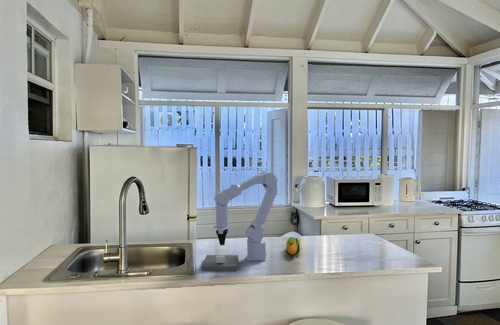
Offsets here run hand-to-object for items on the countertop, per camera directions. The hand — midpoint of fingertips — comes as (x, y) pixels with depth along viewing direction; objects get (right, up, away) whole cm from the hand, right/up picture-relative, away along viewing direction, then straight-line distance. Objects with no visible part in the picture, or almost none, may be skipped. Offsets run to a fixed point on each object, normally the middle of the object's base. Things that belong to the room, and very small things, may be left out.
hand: (222, 244), depth 163 cm
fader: (0, -6, -7) cm, 9 cm away
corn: (+36, -8, +14) cm, 40 cm away
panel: (0, -9, -3) cm, 9 cm away
